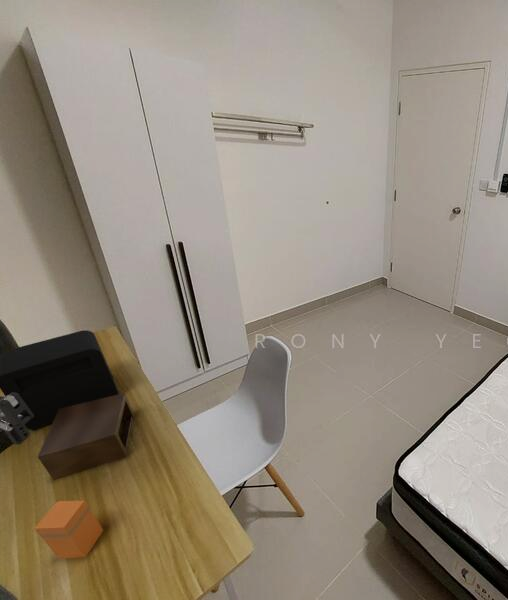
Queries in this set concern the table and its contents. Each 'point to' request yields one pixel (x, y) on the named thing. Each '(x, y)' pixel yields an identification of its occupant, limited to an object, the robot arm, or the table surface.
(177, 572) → the table surface
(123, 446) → the open-ended wooden box
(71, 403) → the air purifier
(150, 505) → the table surface
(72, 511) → the package
